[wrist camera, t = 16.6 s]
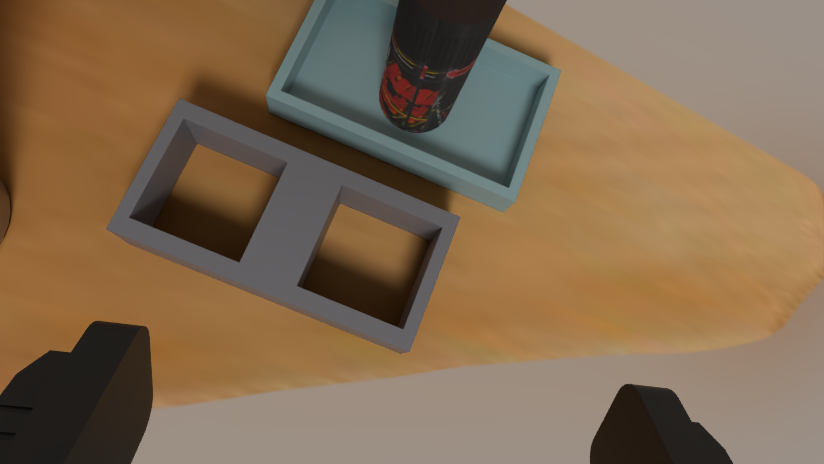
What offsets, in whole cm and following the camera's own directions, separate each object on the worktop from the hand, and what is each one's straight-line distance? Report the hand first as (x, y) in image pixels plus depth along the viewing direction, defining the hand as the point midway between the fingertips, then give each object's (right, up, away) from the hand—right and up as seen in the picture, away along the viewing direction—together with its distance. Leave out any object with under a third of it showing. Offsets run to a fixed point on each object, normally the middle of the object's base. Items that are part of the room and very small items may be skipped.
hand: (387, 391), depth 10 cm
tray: (+1, +14, +37) cm, 40 cm away
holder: (-8, +2, +33) cm, 34 cm away
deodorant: (+1, +13, +37) cm, 39 cm away
